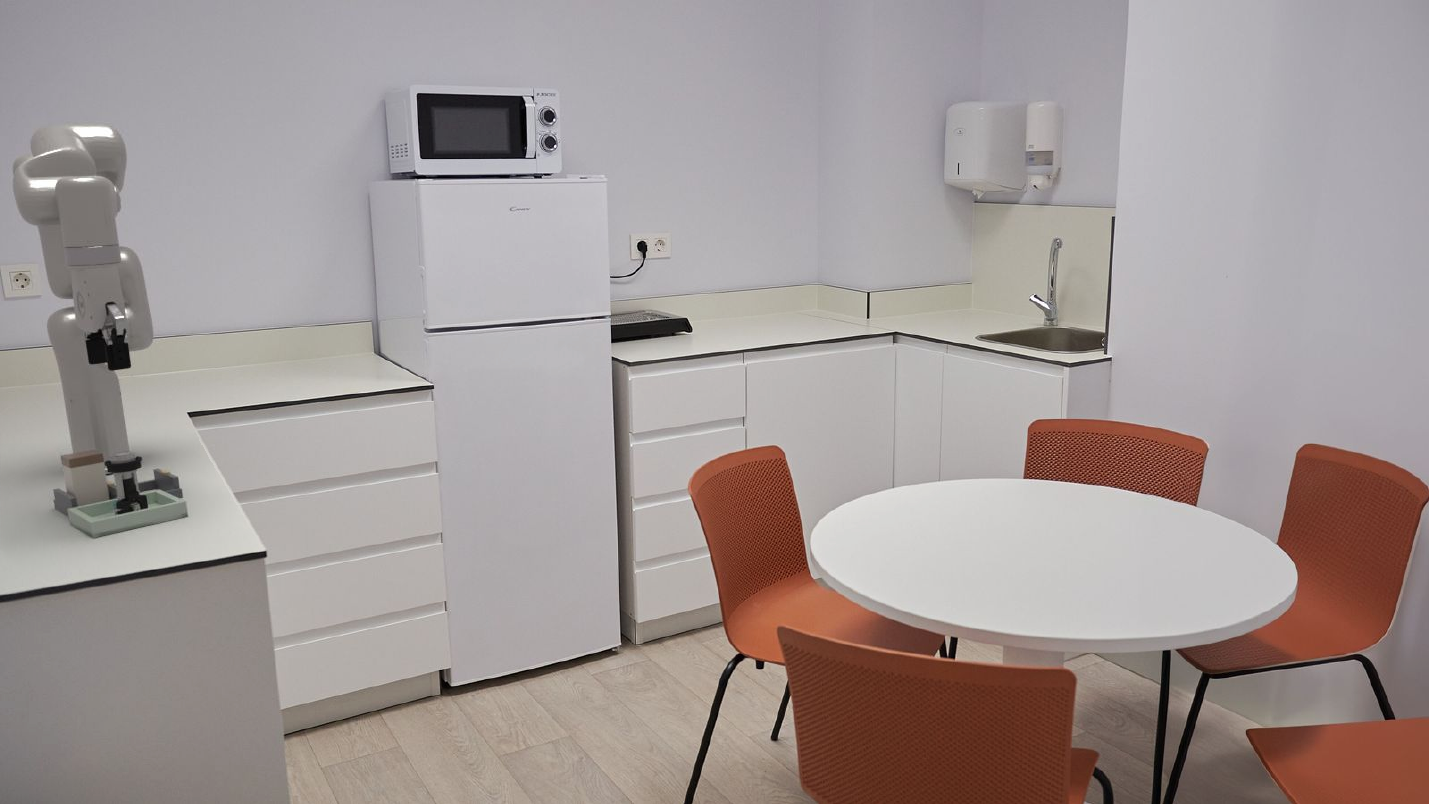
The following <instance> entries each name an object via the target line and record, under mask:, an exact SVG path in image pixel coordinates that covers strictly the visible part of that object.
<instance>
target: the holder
mask: <svg viewBox="0 0 1429 804" xmlns="http://www.w3.org/2000/svg"><path fill="white" fill-rule="evenodd" d="M153 476H154V477H153V479H149V480H144V481H138V487H139V491H140V493H142V492H147V491H149V490H150V491H152V490H155V489H156V490H159V489H160V490H162V491H164V492H166V493H168V494H171V495H173V496H175V497H177V498H180V499H182V498H184V494H183V489H182V488H181V487H180V482H179V481H180V480H179V476H178V475H174V474H172V473H171V471H168V470H167V469H164V470H163V469H160V468H154V469H153ZM107 487H108V493H109V499H110V500H112V499H117V490H116V484H115V482H112V481H110V480H107ZM52 490H53V495H54V499H53V504H54V509H55V510H56V511H59V512H60V513H62V514H63V515H66V516H67V517H69V516H68V510H67V509H70V508H74V507H78V506H77V500H76V498H75V497H74V496H72V495H70V494H68V493H67V491H64V490H63V489H61V488H54V489H52Z"/></svg>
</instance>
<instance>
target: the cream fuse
mask: <svg viewBox="0 0 1429 804" xmlns="http://www.w3.org/2000/svg"><path fill="white" fill-rule="evenodd" d="M60 460H61V461H60V462H61V466H62V471H63V476H64V483H65V489H66V493H68V494H70V495H72V496H74V497H75V498H76V500H77V506H78V507H79V506H84V505H88V504H93V503H98V502H103V501H107V500H110V499H109V493H108V487H107V482H108V480H107V474H105V467H104V458H103V453H101V452H99V451H96V450H89V451H83V452H78V453H73V452H72V453H66V454H61V455H60Z"/></svg>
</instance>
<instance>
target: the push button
mask: <svg viewBox="0 0 1429 804" xmlns="http://www.w3.org/2000/svg"><path fill="white" fill-rule="evenodd" d="M142 461H143V457H142V456H138V455H136V452H135V451H130V452H120V453H115V454H112V455H110V460H108V461H106V462H105V466H107V471H108V472H110V473H111V474H112V475H113V477H114V484H115V485H116V490H117V499H118V501H115V502H114V503H113V505H114V510H113V511H114V512H115V515H120V514H124V513H129V512H133V511H138V510H142V509H147V508H148V503H147V496H146V495H139V494H140V493H141V492H140V491H139V487H138V482H139V481H138V476H137V475H138V474H137V472H138V470H139V469H141V468H142ZM113 511H110V512H109V513H113ZM115 515H114V516H115Z"/></svg>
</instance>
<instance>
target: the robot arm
mask: <svg viewBox="0 0 1429 804" xmlns="http://www.w3.org/2000/svg"><path fill="white" fill-rule="evenodd" d="M29 145H30V150H31V151H30V153H25V154H22V155H21V156H18V157H17V158H16V159H15V160H14V161H13V165H12V176H13V177H12V178H13V179H12V189H13V195H14V199H15V202H16V206H17V209H18V212H19V214H20V216H21V217H22V219H23V221H25V222H26V223H28V224H29V225H31V226H36V227H37V229H38V234H39V237H40V238H39V239H40V244H41V250H42V255H43V261H44V267H45V271H46V277H47V281H48V285H49V288H50V290H51V292H52V294H53V295H54V296H56V298H59V299H62V300H73V306H68V307H64V308H60V309H58V310H55V311H54V312H53V313H52V314H50V316H49V317H48V318H47V321H46V329H47V336H48V338H49V341H50V345H51V347H52V351H53V354H54V356H55V360H56V364H57V367H58V372H59V376H60V382H61V387H62V393H63V399H64V406H65V412H66V419H67V425H68V430H69V438H70V442H71V449H72V453H78V452H83V451H89V450H96V451H99V452H101V453H103V458H104V467H105V474H106V475H110V474H112V473H110V472H108V471H107V466H105V462H106V461H108V460H110V455H112V454H115V453H120V452H131V451H130V445H129V438H128V437H129V436H128V433H127V432H128V431H127V424H126V419H125V418H126V417H125V411H124V405H123V400H122V392H121V391H122V390H121V386H120V385H121V384H120V379H119V376H118V375H117V373H116V372H115V371H118V370H119V371H121V370H128V369H131V368H132V362H131V355H130V352H131V353H132V352H136V351H137V352H138V351H144V350H146V349H148V348H150V346H151V345H152V343H153V341H154V326H153V321H152V316H151V315H152V314H151V308H150V304H149V298H148V293H147V288H146V282H145V277H144V271H143V267H142V264H141V263H142V262H141V260H140V259H139V256H138V254H137V253H136V252H135V251H134V250H133V249H132V248H130V247H127V246H120V243H119V242H120V241H119V237H118V236H119V235H118V230H117V221H116V217H117V216H118V213H120V212H121V208H122V204H121V203H122V202H121V200H122V199H121V196H120V193H121V192H122V191H123V188H124V184H125V176H126V169H127V160H128V157H127V156H128V155H127V148H126V144H125V141H124V139H123V137H122V135H121V134H120V132H119V131H118V130H117V129H116V128H115V127H114V126H112V125H110V124H107V123H99V122H98V123H52V124H47V125H43V126H41V127H40V128H38V129H37V130H36V131H35V132H34V133H33V134H32V136H31V139H30V144H29Z"/></svg>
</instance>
